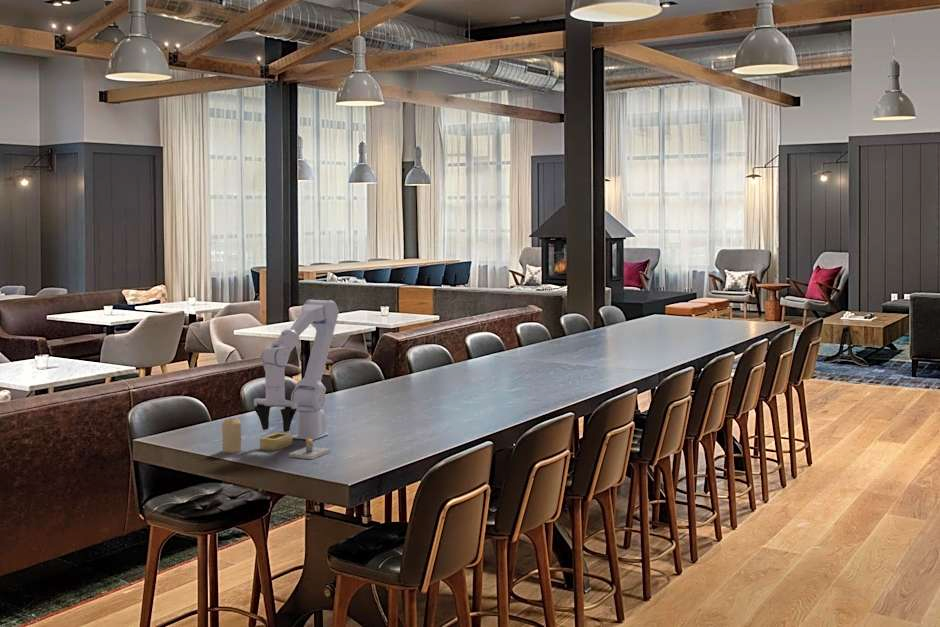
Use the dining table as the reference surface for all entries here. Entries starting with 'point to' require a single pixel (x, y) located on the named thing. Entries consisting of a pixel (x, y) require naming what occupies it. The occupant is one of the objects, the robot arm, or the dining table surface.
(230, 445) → the candle
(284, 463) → the dining table surface
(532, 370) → the dining table surface
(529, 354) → the dining table surface
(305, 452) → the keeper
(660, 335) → the dining table surface
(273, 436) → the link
